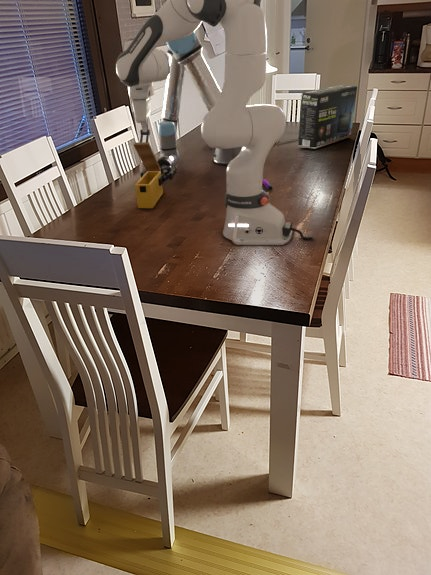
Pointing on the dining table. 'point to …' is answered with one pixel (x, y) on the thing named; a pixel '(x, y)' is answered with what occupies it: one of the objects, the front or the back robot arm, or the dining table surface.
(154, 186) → the chest
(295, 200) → the dining table surface
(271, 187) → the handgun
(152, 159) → the lid
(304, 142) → the router box
